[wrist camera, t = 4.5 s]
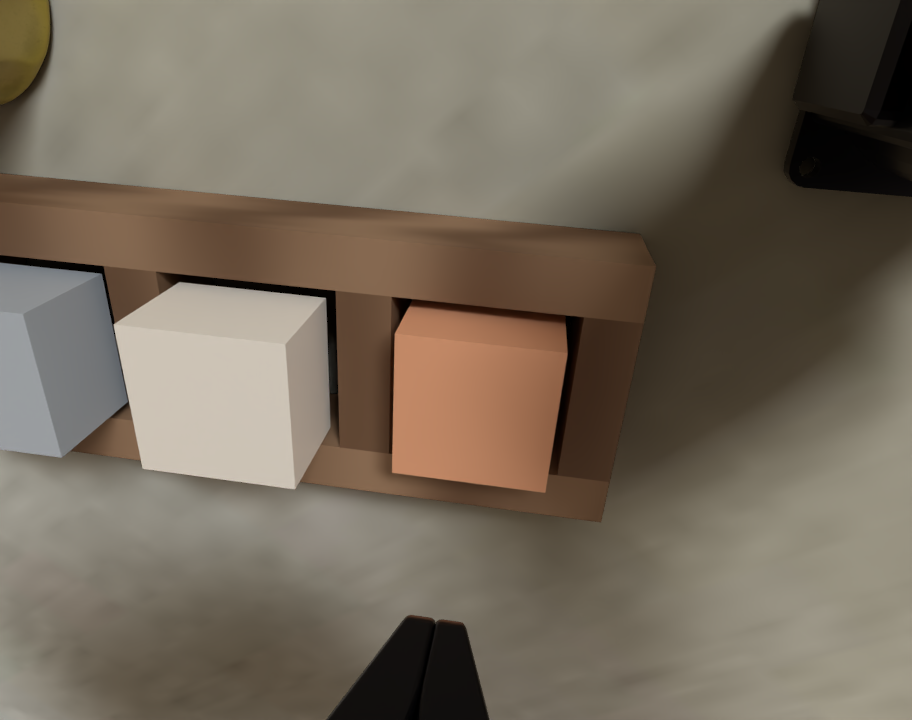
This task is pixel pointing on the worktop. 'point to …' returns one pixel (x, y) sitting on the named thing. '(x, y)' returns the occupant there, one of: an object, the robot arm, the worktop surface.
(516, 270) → the three-slot wooden rack
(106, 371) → the grey cube
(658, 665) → the worktop surface
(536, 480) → the terracotta cube block
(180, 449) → the cream cube block
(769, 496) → the worktop surface
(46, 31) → the vase
